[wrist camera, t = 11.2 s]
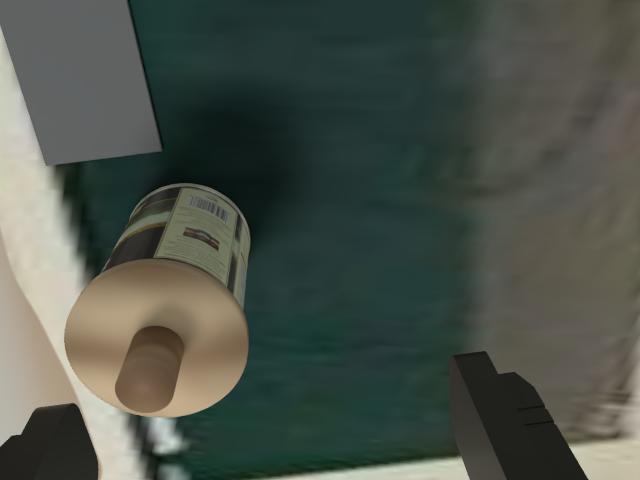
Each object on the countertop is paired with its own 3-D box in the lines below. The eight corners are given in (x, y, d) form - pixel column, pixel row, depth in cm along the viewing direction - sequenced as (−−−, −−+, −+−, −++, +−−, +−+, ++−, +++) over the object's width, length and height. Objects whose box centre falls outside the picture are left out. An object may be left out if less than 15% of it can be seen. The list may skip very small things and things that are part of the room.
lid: (46, 272, 36) (11, 321, 31) (231, 246, 36) (224, 291, 31) (98, 415, 40) (75, 476, 36) (261, 392, 40) (259, 450, 36)
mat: (-16, -32, 41) (-18, -32, 41) (116, -48, 41) (114, -48, 41) (47, 164, 47) (46, 165, 47) (162, 149, 47) (161, 151, 47)
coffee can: (132, 292, 52) (85, 400, 40) (122, 179, 48) (66, 261, 35) (251, 294, 53) (242, 401, 41) (252, 184, 49) (243, 265, 36)
